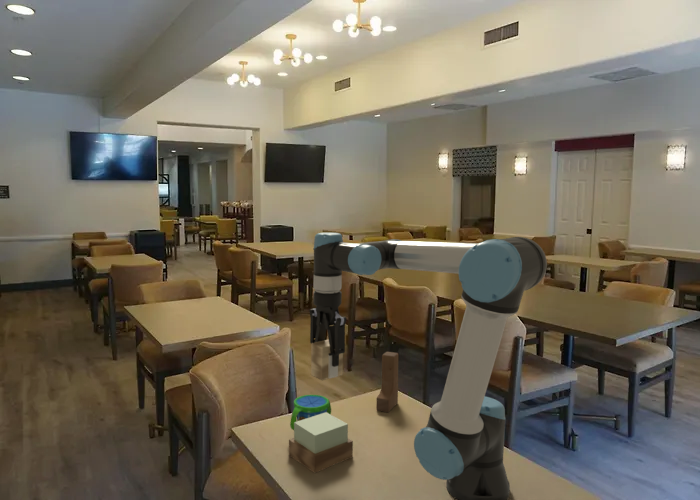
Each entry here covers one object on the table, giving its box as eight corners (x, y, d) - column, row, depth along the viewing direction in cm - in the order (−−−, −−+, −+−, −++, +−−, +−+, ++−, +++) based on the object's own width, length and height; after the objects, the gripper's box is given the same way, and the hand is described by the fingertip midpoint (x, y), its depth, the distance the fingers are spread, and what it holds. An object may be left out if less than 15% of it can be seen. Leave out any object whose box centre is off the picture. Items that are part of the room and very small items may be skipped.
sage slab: (347, 441, 144) (347, 424, 144) (315, 453, 137) (315, 435, 137) (326, 428, 152) (326, 412, 151) (294, 439, 145) (294, 422, 144)
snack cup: (319, 419, 168) (319, 389, 167) (342, 430, 161) (342, 398, 160) (280, 435, 157) (279, 402, 156) (302, 447, 150) (301, 413, 149)
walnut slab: (352, 458, 145) (352, 441, 144) (314, 474, 137) (314, 456, 136) (325, 442, 154) (325, 426, 154) (289, 456, 146) (288, 439, 145)
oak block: (342, 374, 144) (343, 343, 142) (322, 380, 139) (322, 347, 138) (331, 369, 147) (331, 338, 146) (311, 375, 143) (311, 343, 142)
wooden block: (388, 413, 174) (389, 360, 172) (375, 410, 176) (376, 358, 174) (398, 403, 182) (398, 352, 180) (386, 401, 184) (386, 351, 182)
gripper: (360, 294, 136) (358, 380, 139) (319, 283, 150) (318, 362, 152) (337, 297, 131) (336, 387, 134) (297, 286, 145) (296, 367, 148)
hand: (326, 373), depth 143 cm, fingers closed on oak block, 5 cm apart
